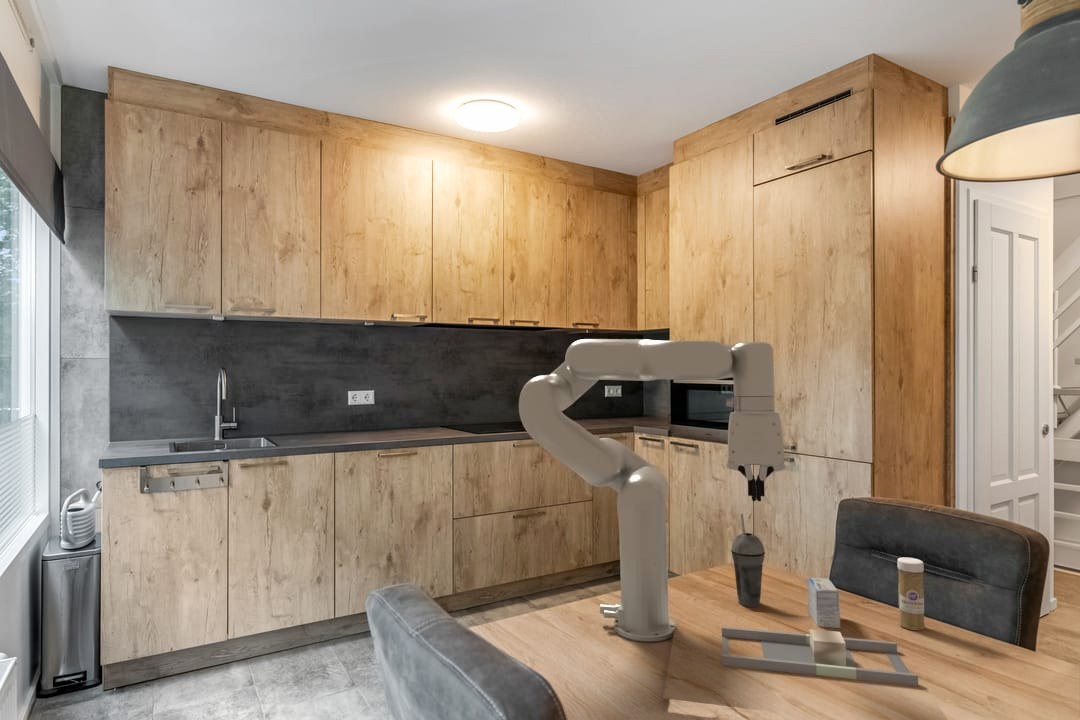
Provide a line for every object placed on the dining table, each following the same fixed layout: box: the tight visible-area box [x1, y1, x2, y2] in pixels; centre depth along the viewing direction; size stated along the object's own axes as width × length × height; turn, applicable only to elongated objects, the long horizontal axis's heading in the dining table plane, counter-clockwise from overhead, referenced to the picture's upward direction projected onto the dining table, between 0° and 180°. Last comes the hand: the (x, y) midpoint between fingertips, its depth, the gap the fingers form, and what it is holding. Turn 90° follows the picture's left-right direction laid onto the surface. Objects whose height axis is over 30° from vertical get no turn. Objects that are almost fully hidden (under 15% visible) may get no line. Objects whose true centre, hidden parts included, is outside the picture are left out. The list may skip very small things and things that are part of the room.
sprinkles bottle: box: [896, 556, 926, 631], centre depth 126 cm, size 5×5×14 cm
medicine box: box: [807, 577, 841, 628], centre depth 127 cm, size 8×4×9 cm, turn 168°
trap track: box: [721, 626, 919, 687], centre depth 110 cm, size 30×13×3 cm, turn 74°
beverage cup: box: [730, 513, 766, 608], centre depth 141 cm, size 7×7×20 cm
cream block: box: [809, 628, 846, 667], centre depth 109 cm, size 5×5×4 cm
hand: (756, 499), depth 121 cm, fingers closed
